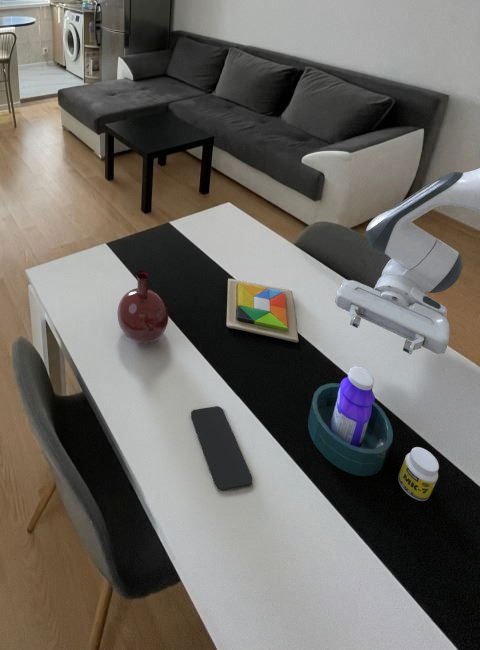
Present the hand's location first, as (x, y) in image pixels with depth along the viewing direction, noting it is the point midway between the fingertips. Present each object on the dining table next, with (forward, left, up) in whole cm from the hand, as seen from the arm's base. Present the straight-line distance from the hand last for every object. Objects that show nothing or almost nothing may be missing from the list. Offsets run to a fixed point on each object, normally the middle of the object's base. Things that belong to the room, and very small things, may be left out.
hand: (379, 336), depth 88 cm
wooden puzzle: (+28, -3, -19) cm, 34 cm away
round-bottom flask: (+42, +28, -19) cm, 54 cm away
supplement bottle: (-14, +10, -19) cm, 25 cm away
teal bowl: (-2, +12, -18) cm, 22 cm away
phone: (+12, +34, -18) cm, 40 cm away
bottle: (-2, +12, -18) cm, 21 cm away
